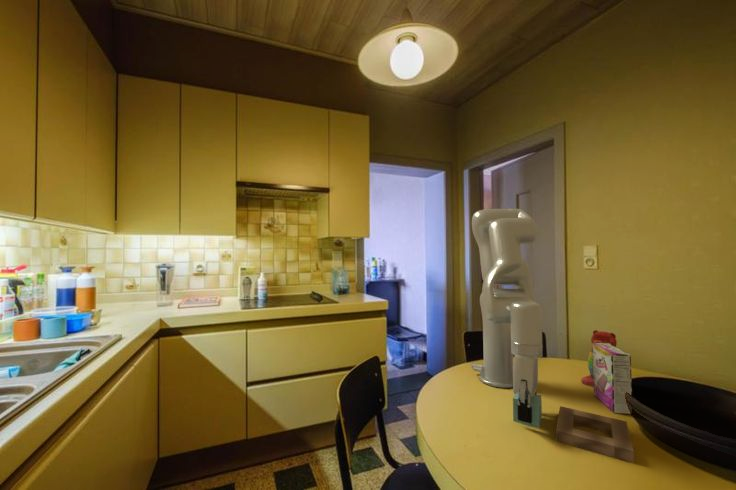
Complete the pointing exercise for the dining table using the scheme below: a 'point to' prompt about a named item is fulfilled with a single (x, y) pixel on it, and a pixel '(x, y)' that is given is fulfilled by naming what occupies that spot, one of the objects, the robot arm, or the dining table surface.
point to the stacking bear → (596, 338)
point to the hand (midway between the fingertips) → (527, 413)
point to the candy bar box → (612, 376)
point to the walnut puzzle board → (604, 445)
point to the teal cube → (536, 410)
